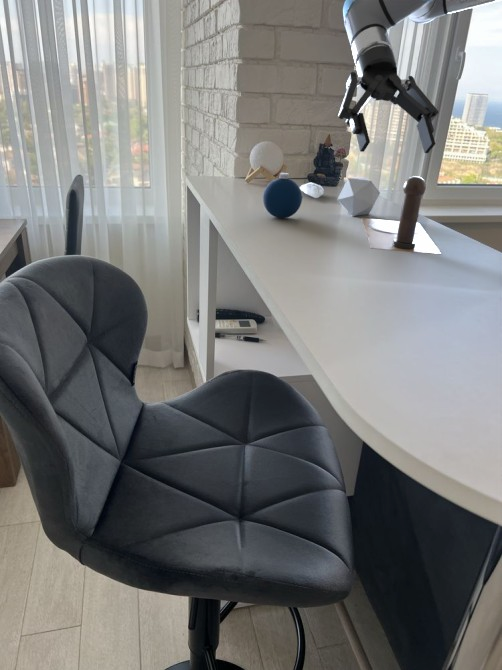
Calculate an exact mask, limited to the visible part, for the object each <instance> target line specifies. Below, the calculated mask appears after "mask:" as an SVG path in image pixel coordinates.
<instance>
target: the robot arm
mask: <svg viewBox="0 0 502 670" xmlns="http://www.w3.org/2000/svg"><path fill="white" fill-rule="evenodd" d="M500 1H501V0H345V1H344V3H343V7H342V15H343V24H344V29H345V31H346V35H347V38H348V41H349V44H350V49H351V53H352V57H353V61H354V65H355V67H356V68H355V69H356V72H355V71H351V72H350V74H349V76H348V78H347V79H346V82H345V89H346V91H345V94H344V97H343V99H342V103H341V106H340V108H339V110H338V111H339V112H338V115H337V117H338V118H339V119H340V120H343V119H346V120H345V124H346V125H348V126H350V129H351V133H352V134H353V135H355V136H356V139H357V144H358V148H359V151H360V152H365V151H366V149H367V148H368V146H369V144H370V143H371V140H370V136H369V132H368V129H367V124H366V121H365V116H364V112H361V111H362V110H363V108H364V107H365V106H366V104H367V103H368V102H369V101H370V100H371V99H374V101H385V102H390V103H392V104H393V105H397V106H399V107H400V108H401V109H402V110H403V111H404V112H406V113H407V114H408V115H409V116H410V117H412V119H414V120H415V121H416V122H418V123H417V125H416V129H417V132H418V135H419V138H420V142H421V145H422V149H423V153H424V154H429V153H430V151H431V150H432V149H433V148H434V147H435V146H436V140H435V138H434V134H433V133H434V131H435V128H434V125H433V121H434V120H435V118H436V117H437V116H438V115H439V110H438V109H437V108H436V106H435V105H434V104H433V103H432V102H431V100H430V98H428V97H427V96H426V94H425V93H424V92H423V91H422V89H421V88H420V87H419V86H418V84H417V82H416V80H415V78H414V77H413V76H412V75H409V76H408V77H407V78H406V79H405V78H404V79H401V77H400V76H399V75H398V64H397V60H396V58H395V53H394V51H393V46H392V43H391V40H390V36H389V33H388V30H390V29H391V28H393V27H395V26H396V25H398V24H399V23H401V22H402V21H403V20H406V19H409V20H410V21H411V22H413V23H415V24H427V23H430V22H431V21H433V20H435V19H436V18H439V17H443V16H446V15H449V14H453V13H456V12H457V13H458V12H461V11H464V10H468V9H474V8H477V7H480V6H485V5H489V4H492V3H496V2H500ZM358 86H359V87H360V88H361V89H362V90H363V91H364V93H363V94H362V95H361V97H360V98H359V100H358V101H357V102H356V103H355V105H354V106H353V107H352V108H351V107H350V106H351V103H352V100H353V97H354V94H355V92H356V89H357V88H358ZM397 92H398V94H397ZM396 94H397V95H396ZM395 95H396V96H395Z"/></svg>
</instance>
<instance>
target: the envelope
mask: <svg viewBox="0 0 502 670" xmlns="http://www.w3.org/2000/svg"><path fill="white" fill-rule="evenodd" d="M360 220H361V222H362V225H363V228H364V231H365V234H366V238H367V241H368V244H369V247H370V249H372V250H373V249H374V250H384V251H385V250H387V251H395V252H396V251H399V252H410V253H419V254H433V255H443V253H442V252H441V250H440V249H439V247H438V246H437V245H436V244H435V242H434V241H433V240H432V239H431V237H430V235H429V234H428V233H427V231H426V230H425V229H424V228H423V226H422V225H421V223H420V222H418V221H417V224H416V229H415V234H414V239H413V241H415V242H416V243H415V248H414V249H400V248H396V247H394V246H393V240H394V239H396V238H397V233H398V227H399V222H400V220H389V219H379V218H377V219H376V218H368V217H367V218H366V217H361V218H360Z"/></svg>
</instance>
